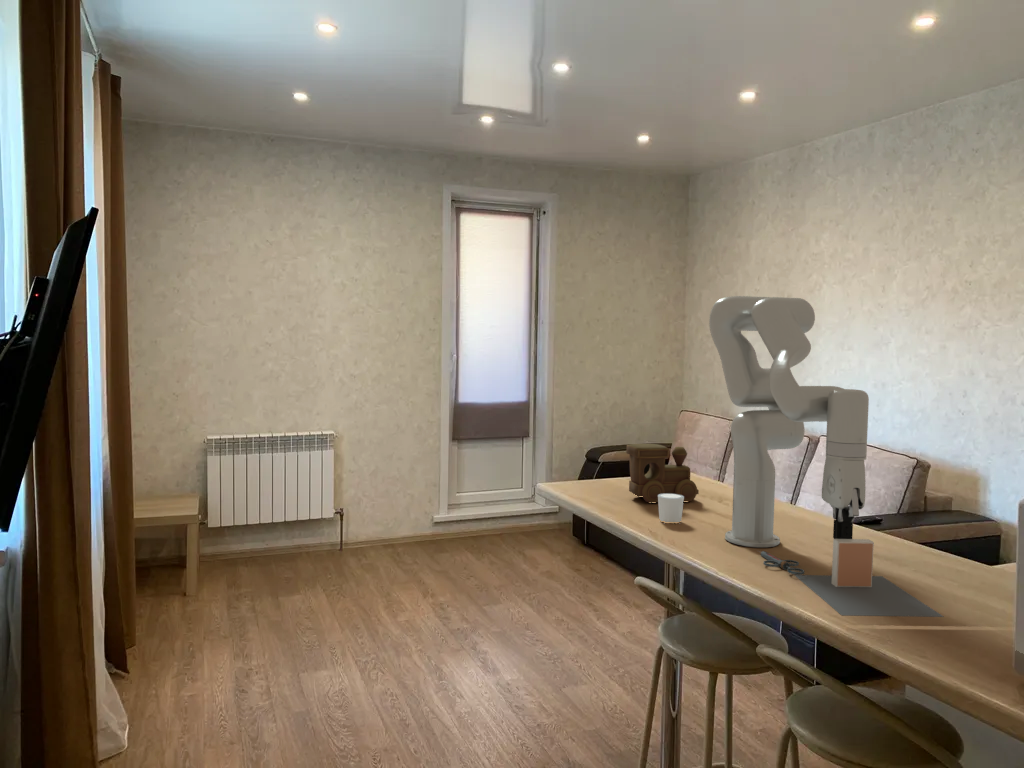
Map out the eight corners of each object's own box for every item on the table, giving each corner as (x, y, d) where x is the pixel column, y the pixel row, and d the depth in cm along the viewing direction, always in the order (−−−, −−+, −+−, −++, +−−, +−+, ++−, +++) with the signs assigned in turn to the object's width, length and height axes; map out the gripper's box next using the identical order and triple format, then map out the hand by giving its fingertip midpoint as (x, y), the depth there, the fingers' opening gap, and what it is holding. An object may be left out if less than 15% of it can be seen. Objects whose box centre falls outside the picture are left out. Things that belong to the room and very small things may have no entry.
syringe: (772, 553, 169) (773, 546, 169) (817, 577, 152) (817, 568, 152) (741, 554, 168) (741, 547, 168) (782, 578, 150) (782, 569, 150)
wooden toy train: (637, 505, 216) (639, 448, 215) (623, 497, 227) (624, 443, 226) (701, 503, 220) (702, 447, 219) (684, 495, 231) (685, 441, 230)
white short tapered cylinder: (655, 523, 196) (656, 497, 195) (658, 517, 202) (659, 491, 202) (681, 525, 193) (682, 499, 193) (684, 519, 200) (685, 494, 199)
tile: (831, 583, 148) (833, 538, 147) (866, 583, 148) (868, 539, 147) (836, 587, 146) (838, 542, 145) (872, 587, 146) (874, 542, 145)
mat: (794, 577, 153) (794, 574, 153) (881, 578, 153) (881, 576, 153) (841, 618, 131) (841, 615, 131) (943, 619, 131) (943, 616, 131)
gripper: (812, 445, 158) (809, 530, 159) (844, 456, 143) (840, 550, 144) (847, 445, 158) (844, 530, 159) (883, 456, 143) (879, 550, 144)
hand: (842, 539), depth 151 cm, fingers closed
